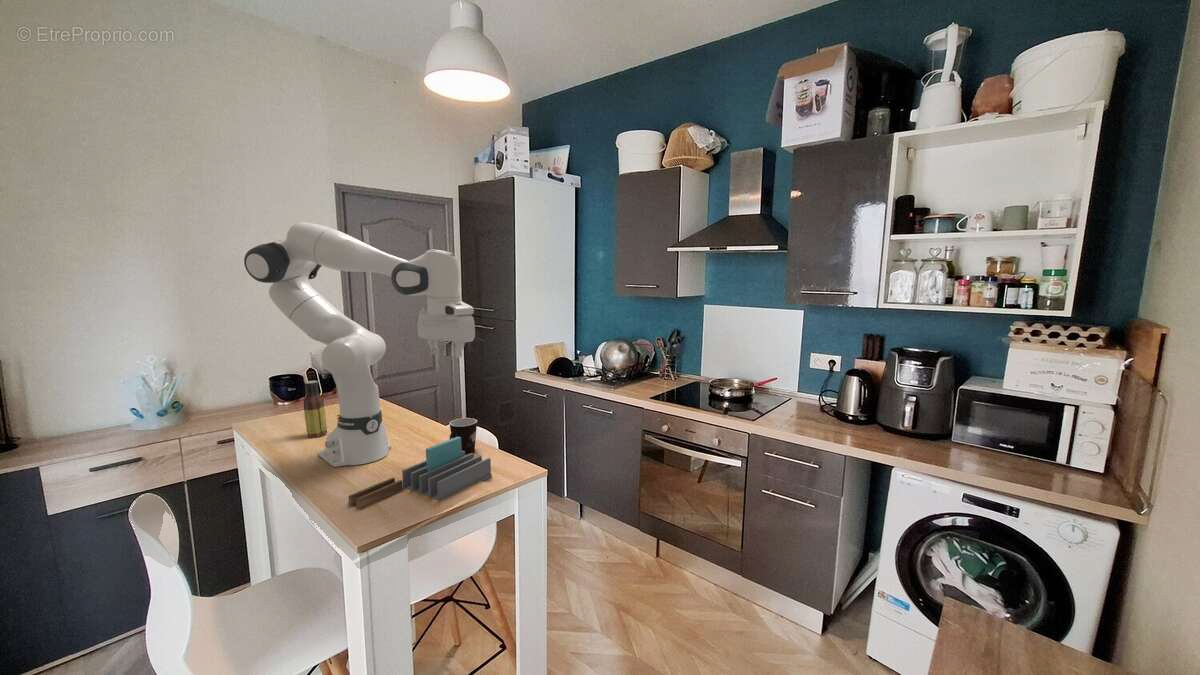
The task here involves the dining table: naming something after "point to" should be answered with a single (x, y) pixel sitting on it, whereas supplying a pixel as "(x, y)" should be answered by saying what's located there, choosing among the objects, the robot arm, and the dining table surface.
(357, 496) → the stand
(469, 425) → the coffee mug
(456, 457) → the plate
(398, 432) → the dining table surface
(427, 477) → the rack
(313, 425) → the sauce bottle
